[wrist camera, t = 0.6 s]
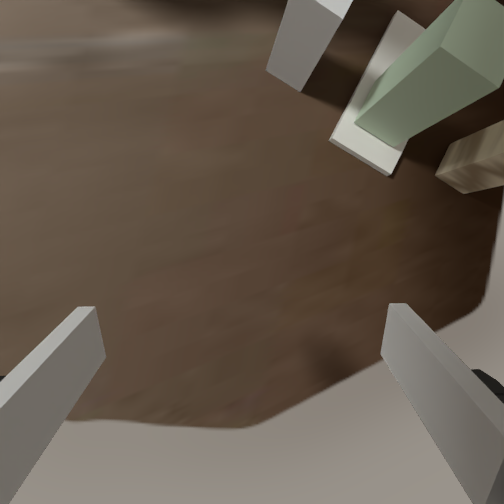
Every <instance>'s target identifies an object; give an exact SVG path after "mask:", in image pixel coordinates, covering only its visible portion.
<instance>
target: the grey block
mask: <svg viewBox="0 0 504 504" xmlns="http://www.w3.org/2000/svg"><path fill="white" fill-rule="evenodd" d="M352 1H353V0H288V2H287V6H286V9H285V12H284V15H283V18H282V21H281V24H280V27H279V30H278V34H277V37H276V40H275V43H274V46H273V49H272V52H271V55H270V58H269V62H268V65H267V68H266V71H267V72H269V73H270V74H272V75H274V76H275V77H277V78H278V79H280V80H282V81H283V82H285V83H286V84H288V85H290V86H291V87H293V88H294V89H296V90H298V91H299V92H301V90H302V89H303V87H304V85H305V83H306V82H307V80H308V78H309V77H310V75H311V73H312V71H313V70H314V68H315V66H316V65H317V63H318V61H319V59H320V58H321V56H322V54H323V53H324V51H325V49H326V47H327V46H328V44H329V42H330V41H331V39H332V37H333V35H334V34H335V32H336V30H337V29H338V27H339V25H340V23H341V22H342V20H343V18H344V16H345V14H346V13H347V11H348V9H349V7H350V5H351V3H352Z"/></svg>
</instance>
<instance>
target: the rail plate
mask: <svg viewBox="0 0 504 504" xmlns="http://www.w3.org/2000/svg"><path fill="white" fill-rule="evenodd" d="M425 30H426V29H424V28H423V27H422V26H420V25H419V24H417V23H416V22H414V21H413V20H412V19H410V18H409V17H407V16H406V15H404V14H403V13H402V12H400V11H399V10H397V12H396V13H395V14H394V15H393V17H392V19H391V21H390V23H389V25H388V27H387V29H386V31H385V33H384V35H383V37H382V38H381V40H380V42H379V44H378V46H377V48H376V50H375V52H374V54H373V56H372V58H371V60H370V62H369V64H368V66H367V68H366V70H365V71H364V73H363V75H362V77H361V79H360V81H359V83H358V85H357V87H356V89H355V91H354V93H353V95H352V97H351V99H350V101H349V102H348V104H347V106H346V108H345V110H344V112H343V114H342V116H341V118H340V120H339V122H338V124H337V126H336V128H335V130H334V132H333V133H332V135H331V137H330V139H329V141H330V142H331V143H333V144H335V145H336V146H338V147H340V148H341V149H343V150H345V151H346V152H348V153H349V154H351V155H353V156H354V157H356V158H358V159H359V160H361V161H363V162H364V163H366V164H368V165H369V166H371V167H372V168H374V169H376V170H377V171H379V172H381V173H382V174H384V175H386V176H388V175H391V174H392V172H393V170H394V168H395V166H396V164H397V162H398V160H399V158H400V156H401V154H402V152H403V150H404V147H405V145H406V143H407V141H408V139H407V140H405V141H403V142H401V143H400V144H398V145H396V146H394V147H392V146H391V145H389V144H387V143H386V142H384V141H383V140H381V139H379V138H378V137H376V136H375V135H373V134H372V133H370V132H368V131H367V130H365V129H364V128H362V127H360V126H359V125H357V124H356V123H354V121H355V119H356V117H357V115H358V113H359V111H360V109H361V107H362V105H363V103H364V102H365V100H366V98H367V96H368V94H369V92H370V90H371V88H372V86H373V84H374V82H375V81H376V80H377V79H378V78H379V77H380V76H381V75H382V74H383V73H384V72H385V71H386V70H387V68H388V67H389V66H390V65H391V64H392V63H393V62H394V61H395V60H396V59H397V58H398V57H399V56H400V55H401V54H402V53H403V52H404V51H405V50H406V49H407V48H408V47H409V46H410V45H411V44H412V43H413V42H414V41H415V40H416V39H417V38H418V37H419V36H420V35H421V34H422V33H423V32H424V31H425Z"/></svg>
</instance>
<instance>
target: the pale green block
mask: <svg viewBox="0 0 504 504" xmlns="http://www.w3.org/2000/svg"><path fill="white" fill-rule="evenodd" d="M503 79H504V6H502V5H501V4H500V3H498V2H497V1H496V0H454V1H453V3H452V4H451V5H450V6H449V7H448V8H447V9H446V10H445V11H444V12H443V13H442V14H441V15H440V16H439V17H438V18H437V19H436V20H435V21H434V22H433V23H432V24H431V25H430V26H429V27H428V28H427V29H426V30H425V31H424V32H423V33H422V34H421V35H420V36H419V37H418V38H417V39H416V40H415V41H414V42H413V43H412V44H411V45H410V46H409V47H408V48H407V49H406V50H405V51H404V52H403V53H402V54H401V55H400V56H399V57H398V58H397V59H396V60H395V61H394V62H393V63H392V64H391V65H390V66H389V67H388V68H387V70H386V71H385V72H384V73H383V74H382V75H381V76H380V77H379V78H378V79H377V80H376V81H375V82H374V84H373V86H372V88H371V90H370V92H369V94H368V96H367V98H366V100H365V102H364V103H363V105H362V107H361V109H360V111H359V113H358V115H357V117H356V119H355V121H354V123H356V124H357V125H359V126H360V127H362V128H364V129H365V130H367V131H368V132H370V133H372V134H373V135H375V136H376V137H378V138H379V139H381V140H383V141H384V142H386V143H387V144H389V145H391V146H392V147H394V146H396V145H398V144H400V143H401V142H403V141H405V140H407V139H409V138H410V137H412V136H414V135H416V134H418V133H419V132H421V131H423V130H425V129H426V128H428V127H430V126H432V125H434V124H435V123H437V122H439V121H441V120H443V119H444V118H446V117H448V116H450V115H451V114H453V113H455V112H457V111H459V110H460V109H462V108H464V107H466V106H468V105H469V104H471V103H473V102H475V101H476V100H478V99H480V98H482V97H484V96H485V95H487V94H489V93H491V92H493V91H494V90H496V89H498V88H499V87H500V85H501V83H502V81H503Z"/></svg>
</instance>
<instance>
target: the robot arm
mask: <svg viewBox="0 0 504 504" xmlns="http://www.w3.org/2000/svg"><path fill="white" fill-rule="evenodd" d="M381 356H382V357H383V359H384V361H385V362H386V363H387V365H388V367H389V369H390V370H391V371H392V373H393V375H394V377H395V378H396V380H397V382H398V383H399V385H400V386H401V388H402V390H403V391H404V393H405V395H406V396H407V398H408V399H409V401H410V403H411V404H412V406H413V408H414V409H415V411H416V412H417V414H418V416H419V417H420V419H421V420H422V422H423V424H424V425H425V427H426V429H427V430H428V432H429V433H430V435H431V437H432V438H433V440H434V442H435V443H436V445H437V446H438V448H439V449H440V451H441V453H442V454H443V456H444V458H445V459H446V461H447V462H448V464H449V466H450V467H451V469H452V471H453V472H454V474H455V476H456V477H457V479H458V480H459V482H460V484H461V485H462V487H463V488H464V490H465V492H466V493H467V495H468V497H469V498H470V500H471V501H472V503H473V504H504V387H503V386H502V385H501V384H500V383H499V382H498V381H497V380H496V379H494V378H492V377H491V376H489V375H488V374H486V373H484V372H483V371H481V370H479V369H474V370H470V369H469V368H468V367H467V366H466V365H465V364H464V362H463V361H461V359H460V358H459V357H458V356H457V355H456V354H455V353H454V352H453V351H452V350H451V349H450V348H449V347H448V346H447V345H446V344H445V343H444V342H443V341H442V340H441V339H440V338H439V337H438V336H437V335H436V334H435V333H434V331H433V330H432V329H431V328H430V327H429V326H428V325H427V324H426V323H425V322H424V321H423V320H422V319H421V318H420V317H419V316H418V315H417V314H416V313H415V312H414V311H413V310H412V309H411V308H410V307H409V306H408V305H407V304H406V303H397V304H389V308H388V314H387V320H386V325H385V331H384V337H383V343H382V349H381ZM105 358H106V355H105V350H104V345H103V341H102V336H101V331H100V327H99V322H98V317H97V312H96V308H95V307H77V308H76V309H75V310H74V311H73V312H72V313H71V314H70V315H69V316H68V317H67V318H66V319H65V320H64V321H63V322H62V323H61V324H60V325H59V326H58V327H57V328H56V329H54V330H53V331H52V332H51V333H50V334H49V335H48V336H47V337H46V338H45V339H44V340H43V341H42V342H41V343H40V344H39V345H38V346H37V347H36V348H35V349H34V350H33V351H32V352H31V353H30V354H29V355H28V356H27V357H26V358H24V359H23V360H22V361H21V362H20V363H19V364H18V365H17V366H16V367H15V368H14V369H13V370H12V371H11V372H10V373H9V374H8V375H7V376H0V504H9V503H10V501H11V500H12V498H13V497H14V495H15V494H16V492H17V491H18V489H19V488H20V486H21V485H22V483H23V481H24V480H25V479H26V477H27V476H28V474H29V473H30V471H31V469H32V468H33V467H34V465H35V464H36V462H37V461H38V459H39V458H40V456H41V455H42V453H43V451H44V450H45V449H46V447H47V446H48V444H49V443H50V441H51V440H52V438H53V436H54V435H55V433H56V432H57V430H58V429H59V427H60V426H61V424H62V423H63V421H64V420H65V418H66V417H67V415H68V414H69V412H70V411H71V409H72V408H73V406H74V405H75V403H76V402H77V400H78V399H79V397H80V396H81V394H82V393H83V391H84V390H85V388H86V387H87V385H88V384H89V382H90V381H91V379H92V378H93V376H94V375H95V373H96V372H97V370H98V369H99V367H100V366H101V364H102V363H103V361H104V360H105Z"/></svg>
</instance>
